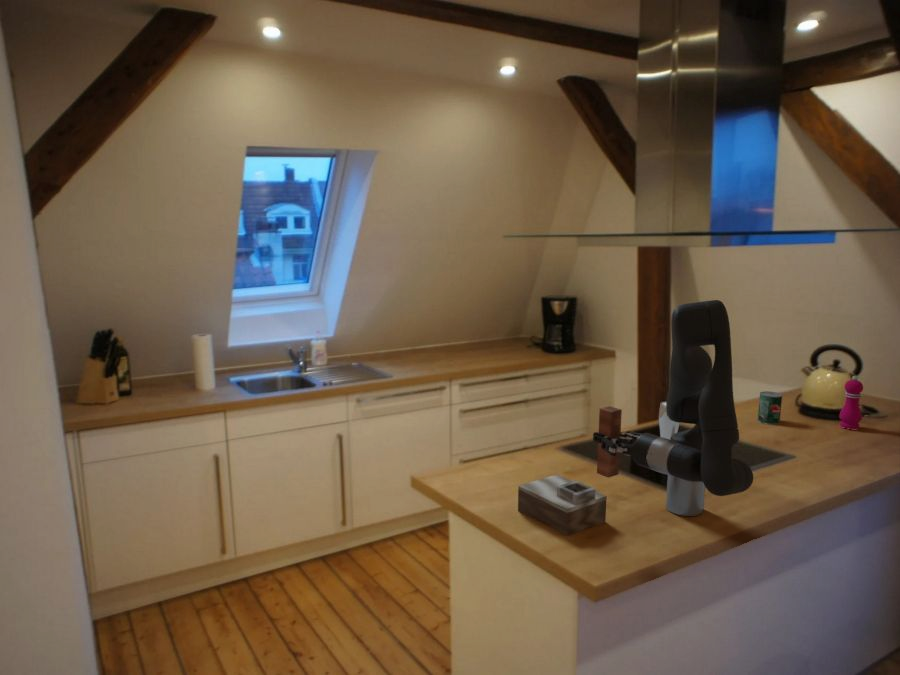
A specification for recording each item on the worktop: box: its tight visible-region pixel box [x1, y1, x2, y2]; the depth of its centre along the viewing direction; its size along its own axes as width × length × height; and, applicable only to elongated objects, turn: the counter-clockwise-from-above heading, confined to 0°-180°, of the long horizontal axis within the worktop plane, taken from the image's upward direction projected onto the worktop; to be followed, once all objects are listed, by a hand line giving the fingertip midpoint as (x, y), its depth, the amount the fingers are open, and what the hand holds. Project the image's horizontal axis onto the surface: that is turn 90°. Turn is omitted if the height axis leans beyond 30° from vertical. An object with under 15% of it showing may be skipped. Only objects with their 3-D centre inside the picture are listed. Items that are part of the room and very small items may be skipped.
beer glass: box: [658, 401, 680, 440], centre depth 231 cm, size 7×7×15 cm
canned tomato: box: [757, 390, 783, 425], centre depth 260 cm, size 8×8×11 cm
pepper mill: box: [839, 375, 864, 429], centre depth 252 cm, size 7×7×20 cm
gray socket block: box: [517, 474, 607, 537], centre depth 176 cm, size 14×18×10 cm
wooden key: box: [596, 406, 623, 479], centre depth 160 cm, size 4×4×16 cm
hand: (600, 434), depth 162 cm, fingers closed on wooden key, 3 cm apart
